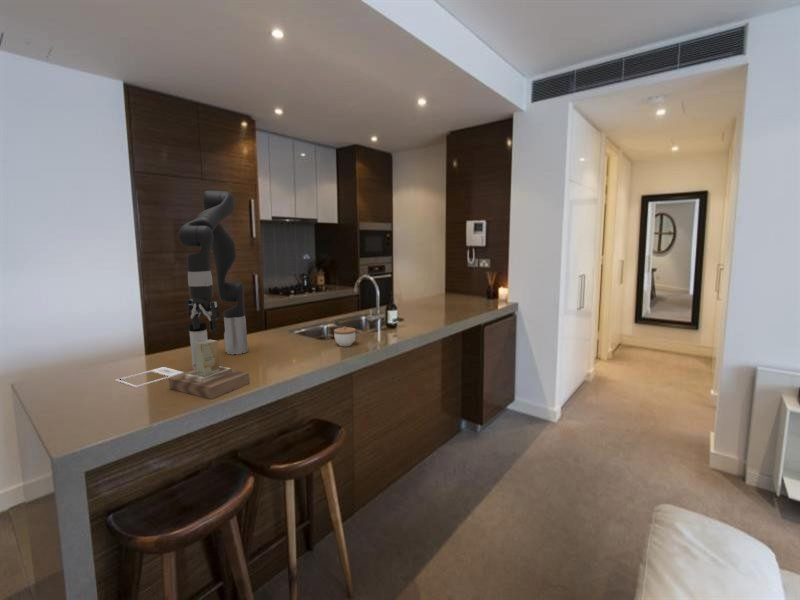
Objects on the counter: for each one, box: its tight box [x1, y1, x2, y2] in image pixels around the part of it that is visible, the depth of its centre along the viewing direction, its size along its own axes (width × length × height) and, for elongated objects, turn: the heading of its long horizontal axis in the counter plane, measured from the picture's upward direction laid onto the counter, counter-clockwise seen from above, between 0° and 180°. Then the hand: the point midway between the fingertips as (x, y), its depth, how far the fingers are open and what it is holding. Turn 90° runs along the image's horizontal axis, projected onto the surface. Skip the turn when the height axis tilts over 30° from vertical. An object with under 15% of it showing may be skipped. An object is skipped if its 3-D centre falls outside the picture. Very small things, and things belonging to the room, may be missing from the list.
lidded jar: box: [333, 325, 357, 347], centre depth 199 cm, size 11×11×9 cm
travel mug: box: [188, 322, 209, 370], centre depth 162 cm, size 6×7×20 cm
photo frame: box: [114, 366, 185, 389], centre depth 156 cm, size 15×1×18 cm
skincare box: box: [195, 339, 220, 377], centre depth 144 cm, size 6×4×12 cm
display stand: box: [167, 365, 250, 400], centre depth 145 cm, size 22×16×6 cm
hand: (204, 329), depth 142 cm, fingers open, 8 cm apart
